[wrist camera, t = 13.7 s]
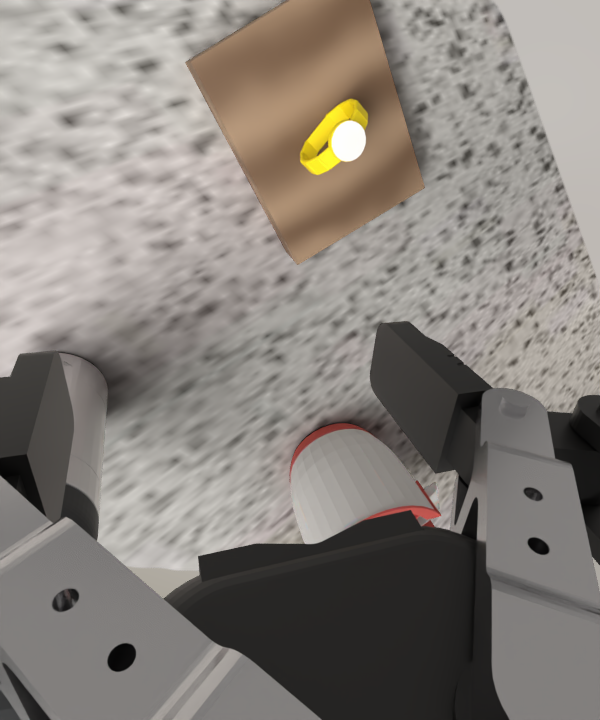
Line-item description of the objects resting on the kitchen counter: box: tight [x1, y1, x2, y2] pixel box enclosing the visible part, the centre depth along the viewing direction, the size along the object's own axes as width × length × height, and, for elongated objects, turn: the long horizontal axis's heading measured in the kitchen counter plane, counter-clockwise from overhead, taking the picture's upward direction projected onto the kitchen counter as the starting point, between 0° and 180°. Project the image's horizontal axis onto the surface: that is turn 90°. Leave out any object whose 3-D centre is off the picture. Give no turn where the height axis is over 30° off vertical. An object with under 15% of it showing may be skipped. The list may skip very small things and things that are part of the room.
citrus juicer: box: [290, 423, 441, 544], centre depth 56 cm, size 16×17×20 cm
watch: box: [300, 99, 368, 175], centre depth 36 cm, size 6×3×6 cm, turn 137°
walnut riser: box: [185, 0, 425, 265], centre depth 40 cm, size 18×14×4 cm
